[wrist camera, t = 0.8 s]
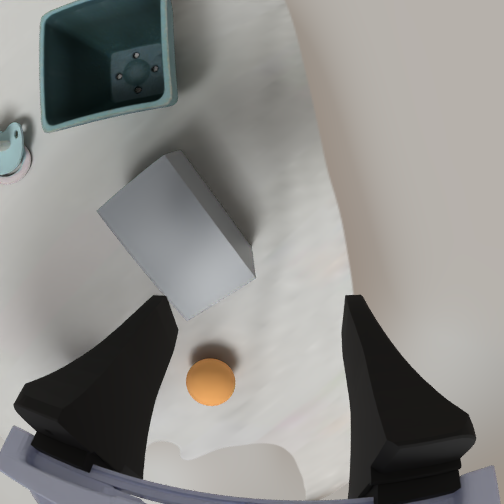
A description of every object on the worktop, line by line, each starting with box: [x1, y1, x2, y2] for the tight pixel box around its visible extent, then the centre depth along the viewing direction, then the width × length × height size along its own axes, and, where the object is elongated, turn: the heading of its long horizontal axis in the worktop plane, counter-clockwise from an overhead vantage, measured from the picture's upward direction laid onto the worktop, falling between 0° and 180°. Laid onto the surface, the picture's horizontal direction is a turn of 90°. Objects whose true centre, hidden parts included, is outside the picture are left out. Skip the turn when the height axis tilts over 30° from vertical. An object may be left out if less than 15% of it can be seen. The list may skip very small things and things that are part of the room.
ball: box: [186, 358, 235, 406], centre depth 31 cm, size 5×5×5 cm
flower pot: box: [39, 0, 178, 133], centre depth 18 cm, size 9×9×9 cm
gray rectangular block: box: [97, 150, 256, 321], centre depth 24 cm, size 6×10×6 cm, turn 34°
